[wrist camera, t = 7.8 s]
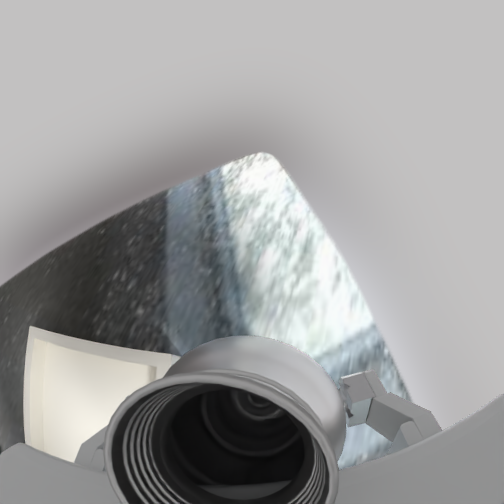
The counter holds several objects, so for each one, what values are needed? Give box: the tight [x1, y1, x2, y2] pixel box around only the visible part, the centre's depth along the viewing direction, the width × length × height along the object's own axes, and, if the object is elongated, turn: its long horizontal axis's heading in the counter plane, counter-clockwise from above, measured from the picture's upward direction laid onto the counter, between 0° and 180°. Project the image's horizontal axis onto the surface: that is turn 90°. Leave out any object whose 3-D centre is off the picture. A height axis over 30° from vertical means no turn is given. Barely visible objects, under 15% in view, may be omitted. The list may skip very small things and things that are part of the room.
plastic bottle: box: [103, 336, 346, 504], centre depth 12 cm, size 6×7×20 cm
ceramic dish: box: [23, 326, 181, 463], centre depth 18 cm, size 18×18×3 cm
